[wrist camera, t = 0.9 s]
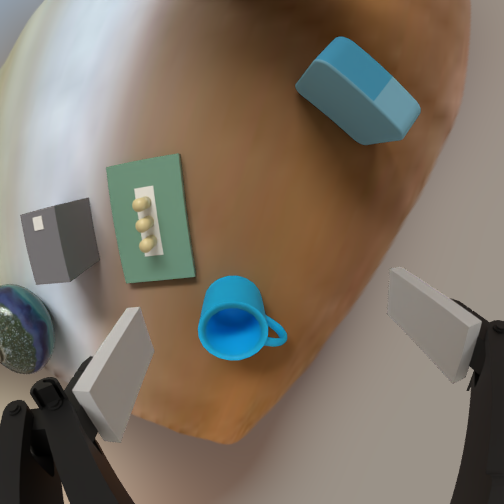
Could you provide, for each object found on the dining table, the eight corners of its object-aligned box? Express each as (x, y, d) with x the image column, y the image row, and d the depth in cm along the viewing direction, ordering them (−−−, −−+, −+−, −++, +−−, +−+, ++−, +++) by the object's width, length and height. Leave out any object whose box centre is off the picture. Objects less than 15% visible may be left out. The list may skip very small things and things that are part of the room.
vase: (66, 363, 42) (34, 408, 29) (7, 330, 40) (-29, 364, 27) (68, 294, 39) (23, 334, 26) (4, 261, 36) (-44, 288, 24)
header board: (109, 167, 34) (96, 167, 30) (180, 154, 35) (173, 151, 31) (128, 280, 39) (118, 291, 35) (196, 273, 39) (192, 285, 35)
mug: (195, 314, 41) (187, 345, 33) (218, 265, 39) (215, 289, 31) (268, 343, 43) (275, 377, 35) (295, 300, 41) (309, 329, 33)
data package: (377, 124, 35) (427, 111, 23) (360, 146, 36) (408, 140, 24) (311, 67, 32) (341, 30, 21) (292, 89, 33) (316, 56, 22)
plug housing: (56, 205, 35) (19, 215, 26) (88, 197, 35) (53, 206, 26) (68, 263, 37) (35, 285, 29) (100, 259, 38) (69, 282, 29)
